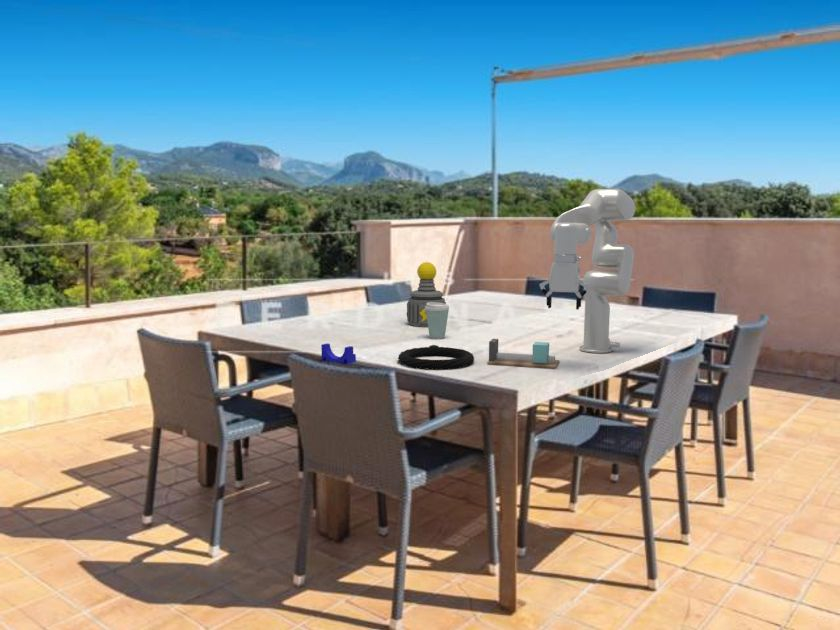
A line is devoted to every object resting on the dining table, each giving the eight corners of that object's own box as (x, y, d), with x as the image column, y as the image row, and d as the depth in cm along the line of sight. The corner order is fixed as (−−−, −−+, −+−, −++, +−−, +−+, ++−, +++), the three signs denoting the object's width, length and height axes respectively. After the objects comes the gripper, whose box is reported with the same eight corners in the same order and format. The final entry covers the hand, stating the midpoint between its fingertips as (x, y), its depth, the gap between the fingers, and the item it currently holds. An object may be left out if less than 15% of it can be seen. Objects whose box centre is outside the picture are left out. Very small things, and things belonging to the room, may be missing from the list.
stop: (498, 357, 270) (498, 338, 269) (494, 361, 263) (494, 342, 263) (492, 357, 271) (493, 338, 270) (488, 361, 264) (489, 341, 263)
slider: (548, 360, 264) (549, 342, 263) (546, 363, 259) (547, 345, 258) (534, 359, 266) (535, 341, 265) (532, 362, 260) (532, 344, 259)
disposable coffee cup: (451, 336, 320) (452, 302, 318) (446, 340, 310) (446, 305, 308) (428, 335, 323) (428, 301, 321) (421, 339, 313) (421, 304, 311)
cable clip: (355, 362, 266) (355, 345, 265) (348, 364, 262) (348, 347, 261) (329, 358, 272) (329, 342, 271) (321, 360, 268) (321, 344, 267)
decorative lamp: (404, 327, 346) (404, 263, 342) (409, 321, 364) (409, 260, 360) (444, 328, 344) (445, 263, 339) (447, 322, 362) (448, 261, 358)
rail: (555, 362, 262) (555, 356, 262) (554, 363, 260) (554, 357, 259) (496, 358, 268) (496, 352, 268) (495, 360, 266) (495, 353, 265)
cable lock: (397, 360, 252) (397, 344, 281) (397, 371, 252) (397, 354, 282) (478, 360, 252) (469, 344, 282) (478, 371, 253) (469, 354, 283)
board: (559, 362, 266) (559, 360, 266) (555, 369, 255) (555, 366, 255) (493, 358, 273) (493, 356, 273) (487, 364, 262) (487, 362, 262)
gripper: (591, 259, 256) (589, 308, 258) (541, 258, 261) (540, 306, 264) (589, 260, 249) (587, 311, 251) (538, 259, 254) (537, 308, 256)
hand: (563, 308), depth 257 cm, fingers open, 9 cm apart
